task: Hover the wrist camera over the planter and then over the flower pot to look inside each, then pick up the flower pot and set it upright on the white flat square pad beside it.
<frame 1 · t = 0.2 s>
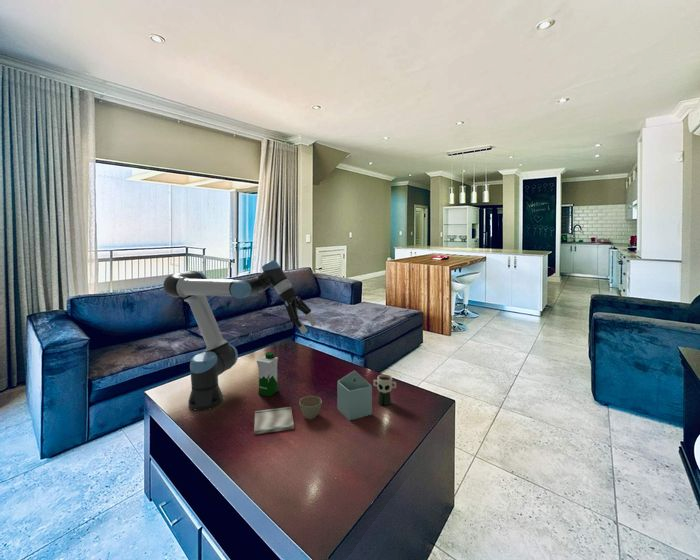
hand: (310, 328, 155), 36 cm above the table, tool tilted 35°, fingers open, 13 cm apart
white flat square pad: (273, 421, 144), on the table
planter: (352, 416, 148), on the table
character mug: (384, 403, 160), on the table
flower pot: (310, 416, 148), on the table
milk carton: (268, 392, 170), on the table
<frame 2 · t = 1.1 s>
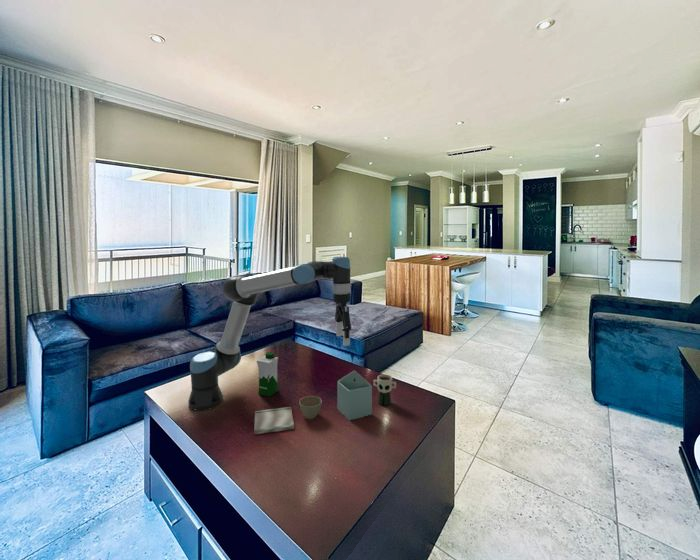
hand: (342, 340, 145), 34 cm above the table, tool pointing down, fingers open, 13 cm apart
nothing on the table moved.
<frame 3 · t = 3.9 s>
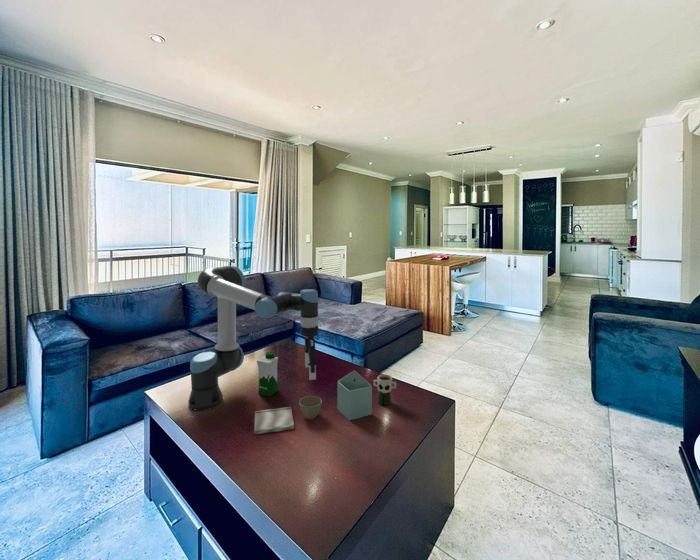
hand: (310, 372, 145), 20 cm above the table, tool pointing down, fingers open, 13 cm apart
nothing on the table moved.
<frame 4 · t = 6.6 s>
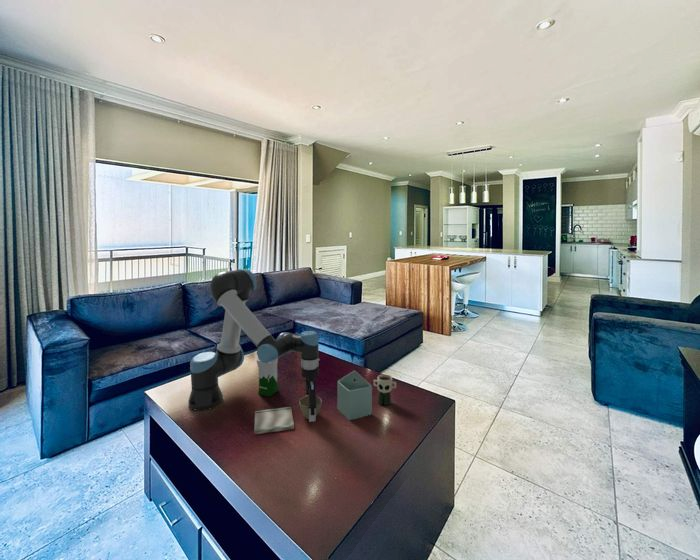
hand: (310, 414, 148), 1 cm above the table, tool pointing down, fingers closed on flower pot, 10 cm apart
flower pot: (310, 416, 148), on the table, touching gripper
everything else where it was.
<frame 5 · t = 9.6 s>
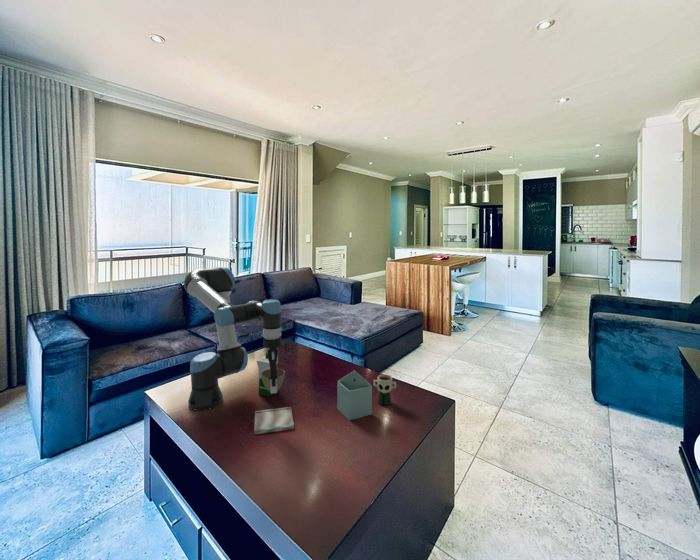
hand: (273, 387, 142), 15 cm above the table, tool pointing down, fingers closed on flower pot, 10 cm apart
flower pot: (273, 389, 142), point 14 cm above the table, touching gripper
everything else where it was.
when the fingers open (3 cm above the table, at t = 13.0 s): flower pot stays where it is, resting on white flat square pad.
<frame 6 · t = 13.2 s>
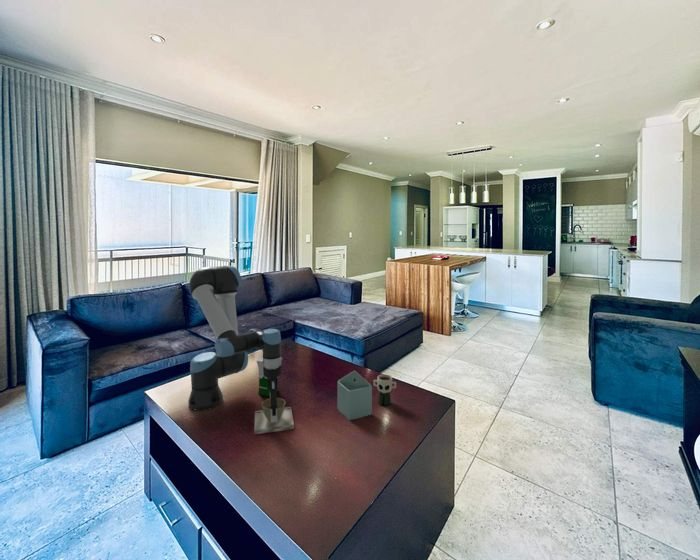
hand: (273, 413, 143), 3 cm above the table, tool pointing down, fingers open, 12 cm apart
flower pot: (273, 419, 144), point 1 cm above the table, touching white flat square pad
everything else where it was.
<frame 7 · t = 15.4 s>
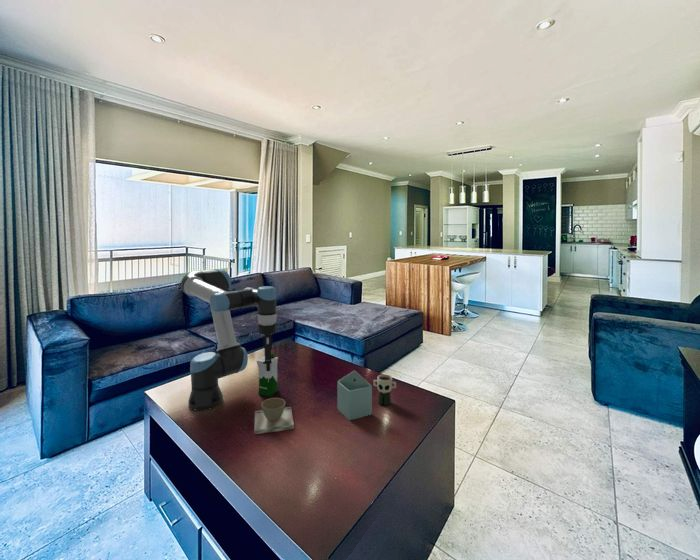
hand: (268, 370, 143), 22 cm above the table, tool pointing down, fingers open, 13 cm apart
nothing on the table moved.
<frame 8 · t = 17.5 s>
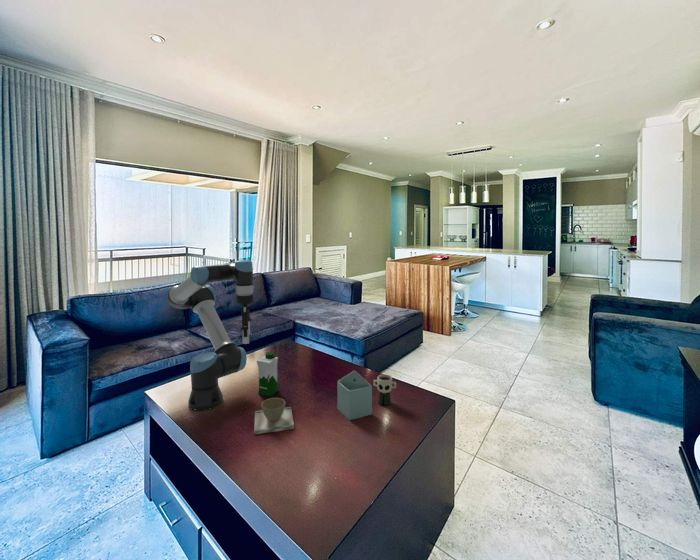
hand: (246, 338, 155), 32 cm above the table, tool pointing down, fingers open, 13 cm apart
nothing on the table moved.
at the end: flower pot inside the target area on the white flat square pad (0.1 cm from its centre), point 0.8 cm above the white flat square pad's base; flower pot tilted 0°; the gripper is holding nothing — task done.
